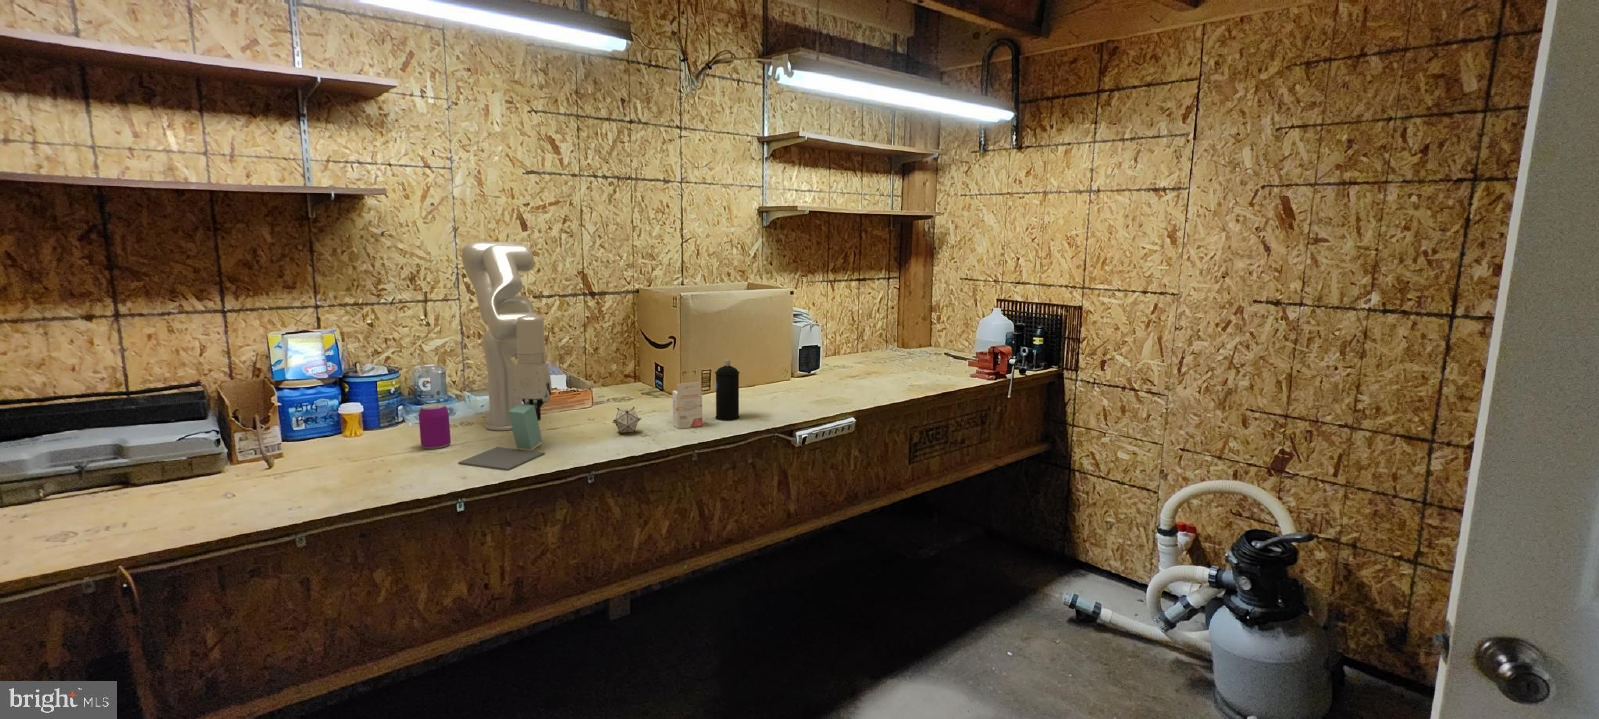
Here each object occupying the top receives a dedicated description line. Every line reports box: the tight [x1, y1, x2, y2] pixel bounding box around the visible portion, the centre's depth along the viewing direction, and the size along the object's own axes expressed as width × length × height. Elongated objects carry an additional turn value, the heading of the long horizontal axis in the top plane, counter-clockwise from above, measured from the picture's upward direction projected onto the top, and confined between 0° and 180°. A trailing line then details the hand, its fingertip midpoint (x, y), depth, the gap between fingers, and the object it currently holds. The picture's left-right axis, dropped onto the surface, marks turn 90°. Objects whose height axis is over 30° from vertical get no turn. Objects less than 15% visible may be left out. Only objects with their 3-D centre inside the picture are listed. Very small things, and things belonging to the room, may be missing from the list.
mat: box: [457, 446, 546, 471], centre depth 195 cm, size 16×15×1 cm
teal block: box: [508, 403, 543, 451], centre depth 203 cm, size 5×5×12 cm
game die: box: [612, 406, 642, 435], centre depth 221 cm, size 9×8×10 cm
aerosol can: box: [714, 359, 740, 422], centre depth 240 cm, size 8×8×20 cm
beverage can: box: [418, 402, 451, 450], centre depth 205 cm, size 8×8×12 cm
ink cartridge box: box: [672, 381, 704, 430], centre depth 230 cm, size 9×5×15 cm, turn 118°
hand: (534, 420), depth 207 cm, fingers closed
